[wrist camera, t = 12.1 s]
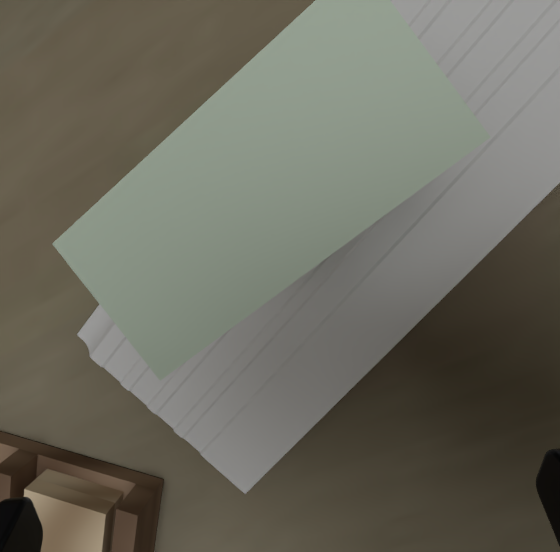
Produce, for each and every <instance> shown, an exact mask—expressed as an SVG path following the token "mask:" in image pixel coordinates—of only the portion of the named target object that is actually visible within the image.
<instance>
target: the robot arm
mask: <svg viewBox="0 0 560 552" xmlns="http://www.w3.org/2000/svg"><path fill="white" fill-rule="evenodd" d="M536 487H537V491H538V494H539V497H540V499H541V502H542V504H543V507H544V509H545V512H546V514H547V516H548V519H549V521H550V524H551V526H552V529H553V531H554V534H555V536H556V539H557V541H558V543H559V546H560V449H551V450H549V451H547V452H546V454H545V456H544V459H543V462H542V464H541V467H540V470H539V473H538V475H537V478H536ZM42 541H43V527H42V524H41V522H40V519H39V517H38V514H37V512H36V509H35V507H34V504H33V502H32V500H31V499H30V498H28V497H18V498H8V499H4V500H2V501H1V502H0V552H41V547H42Z"/></svg>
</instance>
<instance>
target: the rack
mask: <svg viewBox="0 0 560 552" xmlns="http://www.w3.org/2000/svg"><path fill="white" fill-rule="evenodd" d="M46 469H50V470H53V471H57V472H60V473H63V474H67V475H70V476H73V477H76V478H80V479H83V480H86V481H90V482H93V483H96V484H99V485H103V486H106V487H109V488H113V489H116V490H119V491H123V492H124V496H123V501H122V502H121V504H120V505H119V506H118V507H117V509H116V516H115V524H114V533H113V542H112V551H111V552H154V545H155V538H156V531H157V524H158V516H159V509H160V502H161V494H162V487H163V480H164V479H160V478H157V477H153V476H150V475H147V474H143V473H140V472H137V471H133V470H130V469H126V468H123V467H120V466H116V465H113V464H109V463H106V462H103V461H99V460H96V459H93V458H89V457H86V456H82V455H79V454H76V453H72V452H69V451H65V450H62V449H59V448H55V447H52V446H48V445H45V444H42V443H38V442H35V441H32V440H28V439H25V438H21V437H18V436H15V435H11V434H8V433H4V432H1V431H0V502H1V501H2V500H4V499H8V498H18V497H24V489H25V488H26V487H27V486H28V485H29V484H31V483H32V482H33V481H34V480H35V479H36V478H37V477H38V476H40V475H41V474H42V473H43V472H44V471H45V470H46Z"/></svg>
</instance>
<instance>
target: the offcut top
mask: <svg viewBox="0 0 560 552" xmlns="http://www.w3.org/2000/svg"><path fill="white" fill-rule="evenodd" d="M24 497H28V498H30V499H31V500H32V502H33V504H34V507H35V509H36V512H37V514H38V517H39V519H40V522H41V524H42V527H43V541H42V547H41V552H110V545H111V536H112V527H113V518H114V509H115V503H114V502H111V501H108V500H104V499H101V498H98V497H95V496H91V495H88V494H85V493H82V492H78V491H75V490H72V489H69V488H65V487H62V486H59V485H56V484H52V483H49V482H46V481H43V480H39V479H35V480H34V481H33V482H32V483H31V484H29V485H28V486H27V487H26V488H25V489H24Z"/></svg>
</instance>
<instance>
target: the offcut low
mask: <svg viewBox="0 0 560 552" xmlns="http://www.w3.org/2000/svg"><path fill="white" fill-rule="evenodd" d="M36 479H39V480H43V481H46V482H49V483H52V484H56V485H59V486H62V487H65V488H69V489H72V490H75V491H78V492H82V493H85V494H88V495H91V496H95V497H98V498H101V499H104V500H108V501H111V502H114V503H115V509H114V518H113V527H112V536H111V545H110V552H111V551H112V542H113V533H114V524H115V516H116V509H117V507H118V506H119V505H120V504H121V502H122V501H123V496H124V492H123V491H119V490H116V489H113V488H109V487H106V486H103V485H99V484H96V483H93V482H90V481H86V480H83V479H80V478H76V477H73V476H70V475H67V474H63V473H60V472H57V471H53V470H50V469H46V470H45V471H44V472H43V473H42V474H41V475H40V476H38V477H37V478H36Z"/></svg>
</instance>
